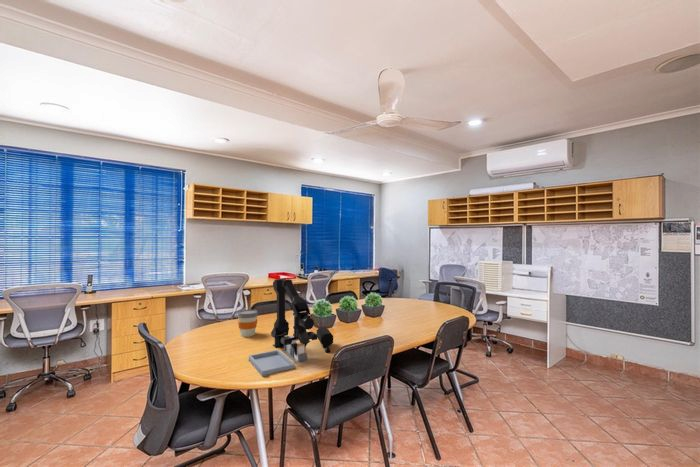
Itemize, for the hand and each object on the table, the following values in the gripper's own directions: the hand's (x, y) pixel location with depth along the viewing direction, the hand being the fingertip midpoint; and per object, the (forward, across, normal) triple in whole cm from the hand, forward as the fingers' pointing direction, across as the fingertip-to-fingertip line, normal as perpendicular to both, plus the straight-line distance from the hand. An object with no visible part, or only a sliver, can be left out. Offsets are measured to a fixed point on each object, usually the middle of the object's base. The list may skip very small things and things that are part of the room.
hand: (299, 354), depth 170 cm
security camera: (+3, +20, +8) cm, 22 cm away
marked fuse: (+2, 0, 0) cm, 2 cm away
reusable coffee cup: (+3, -12, +56) cm, 57 cm away
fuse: (+2, 0, +11) cm, 11 cm away
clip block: (+3, 0, +6) cm, 6 cm away
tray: (+2, -15, +1) cm, 15 cm away
